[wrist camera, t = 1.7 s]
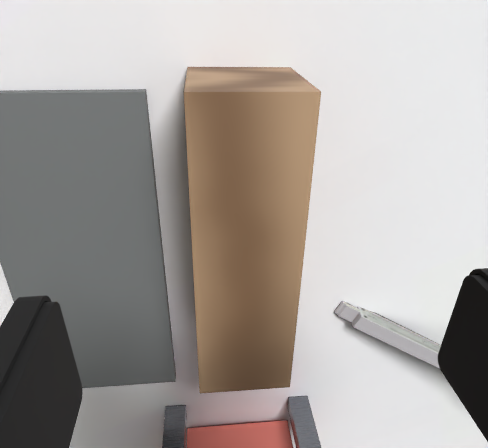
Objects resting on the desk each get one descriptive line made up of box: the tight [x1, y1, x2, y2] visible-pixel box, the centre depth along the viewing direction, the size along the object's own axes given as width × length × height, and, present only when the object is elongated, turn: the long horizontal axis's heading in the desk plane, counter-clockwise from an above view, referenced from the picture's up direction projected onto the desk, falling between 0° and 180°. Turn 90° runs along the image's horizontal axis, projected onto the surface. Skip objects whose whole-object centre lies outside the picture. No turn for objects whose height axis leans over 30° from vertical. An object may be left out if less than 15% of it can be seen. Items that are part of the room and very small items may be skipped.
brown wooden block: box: [184, 67, 321, 393], centre depth 21 cm, size 5×16×6 cm, turn 179°
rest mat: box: [0, 89, 176, 388], centre depth 24 cm, size 9×20×1 cm, turn 0°
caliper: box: [334, 301, 441, 368], centre depth 28 cm, size 20×1×6 cm, turn 63°
